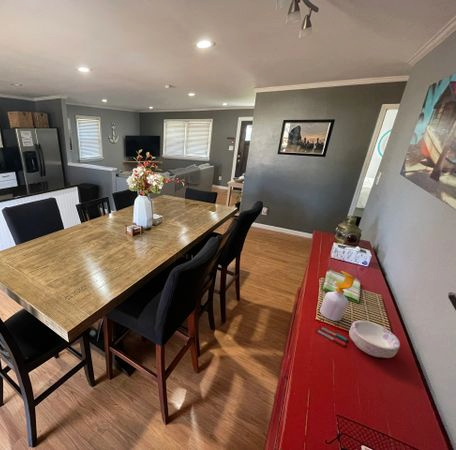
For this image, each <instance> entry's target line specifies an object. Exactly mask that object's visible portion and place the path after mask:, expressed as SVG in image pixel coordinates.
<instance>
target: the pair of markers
mask: <svg viewBox="0 0 456 450" xmlns="http://www.w3.org/2000/svg"><path fill="white" fill-rule="evenodd" d="M317 333H318V334H319V335H321V336H323V337H325V338H326V339H329V340H331V341H333V342H334V343H336V344H339V346H341V347H345V346H346V342H345V341H343V340H341V339H339V338H337V337H335V336H334V337H333V336H332V335H329V334H328V333H326V332H324V331H322V330H321V329H318V330H317Z"/></svg>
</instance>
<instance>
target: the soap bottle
mask: <svg viewBox="0 0 456 450" xmlns="http://www.w3.org/2000/svg"><path fill="white" fill-rule="evenodd" d="M340 273H341V274H342V275H345V276H346V277H345V279H344V281H343V282H341V283H335V285H337V286H338V288H336V290H335V292H326V293H325V295H324V297H323V300H322V303H321V306H320V308H319V312H320V314H321V315H322V316H323V317H324V318H326V319H328V320H330V321H333V322H339V321H341V320H342V319H343V316H344V314H345V311H346V310H347V307H348V305H349V299H347V298H346V297H345V296H344V295H343V294H344V290H343V289H348V288H351V287H352V285H353V282H354V280H355V279H356V278H355V277H354V276H352V275H351V274H350V273H348V272H346V271H343V270H340Z"/></svg>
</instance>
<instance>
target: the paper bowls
mask: <svg viewBox="0 0 456 450" xmlns="http://www.w3.org/2000/svg"><path fill="white" fill-rule="evenodd" d="M348 336H349V337H350V340H351V341H352V342H353V343H354V344H355V346H356V347H357V348H358V349H359V350H361V351H362V352H363V353H365V354H367V355H369V356H372V357H375V358H386V359H390V358H392V357H395V356H396V354H397V353H398V352H399V349H400V347H401V342H400V340H399V338H398V337H397V336H396V335H395V334H394V333H393V332H391V331H390V330H389V329H387V328H386V327H384V326H382V325H379V324H377V323H375V322H372V321H368V320H363V319H361V320H354V321H353V322H352V323H351V325H350V328H349V331H348Z"/></svg>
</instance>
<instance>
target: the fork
mask: <svg viewBox="0 0 456 450" xmlns="http://www.w3.org/2000/svg"><path fill="white" fill-rule="evenodd" d="M320 330H321V331H323V332H325V333H327V334H330V335H331V336H334V337H336V338H338V339H339V340H341V341H343V342H345V343H347V341H348V338H347V337H345V336H344V335H341V334H339V333H338V332H336V333H334V332H333V331H331V330H330V329H327V328H325V327H323V326H322V327H321V329H320Z"/></svg>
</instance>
